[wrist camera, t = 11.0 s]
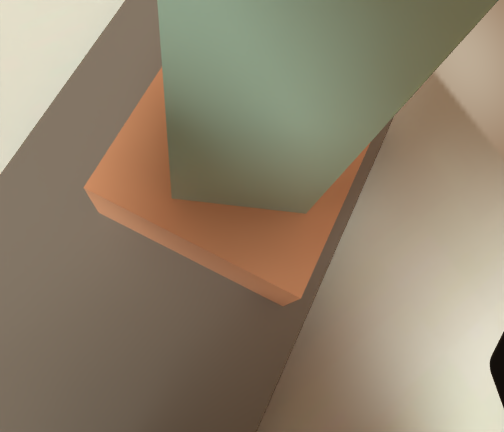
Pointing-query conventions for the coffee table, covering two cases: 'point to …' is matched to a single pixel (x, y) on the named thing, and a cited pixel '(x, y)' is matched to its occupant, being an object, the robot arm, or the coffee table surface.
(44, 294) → the baseplate
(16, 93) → the coffee table surface
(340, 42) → the tall brick
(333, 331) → the coffee table surface
